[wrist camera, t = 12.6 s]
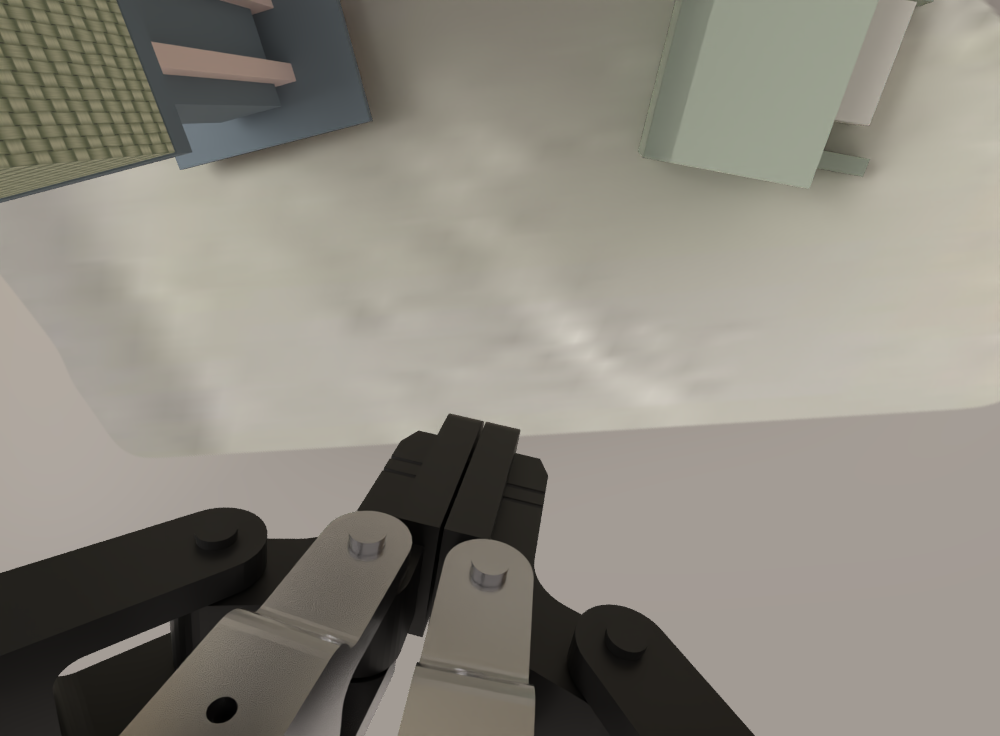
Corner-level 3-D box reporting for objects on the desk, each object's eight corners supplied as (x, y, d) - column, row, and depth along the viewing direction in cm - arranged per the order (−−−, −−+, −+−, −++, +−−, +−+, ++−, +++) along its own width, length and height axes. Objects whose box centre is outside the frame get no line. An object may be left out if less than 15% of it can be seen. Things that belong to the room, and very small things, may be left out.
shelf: (694, -75, 34) (710, -109, 28) (936, -37, 32) (998, -65, 27) (637, 151, 38) (642, 157, 33) (846, 191, 37) (885, 203, 32)
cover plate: (713, -18, 35) (722, -29, 32) (892, 10, 34) (917, 1, 31) (683, 95, 37) (689, 94, 34) (849, 124, 36) (869, 125, 34)
